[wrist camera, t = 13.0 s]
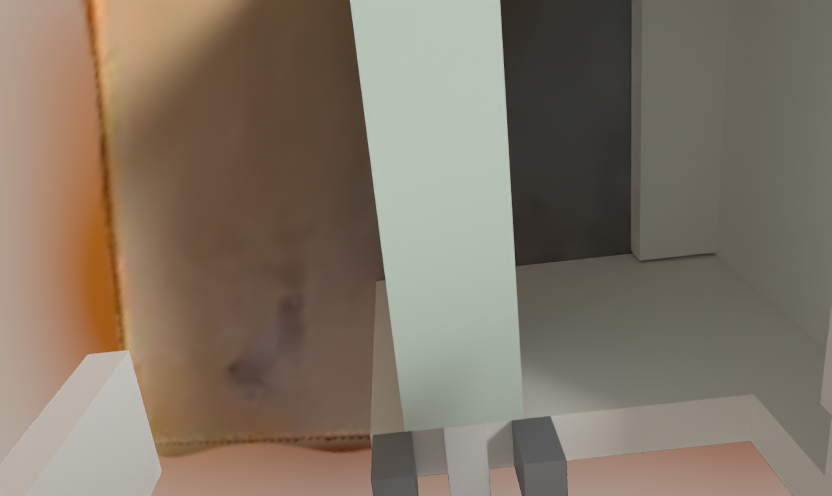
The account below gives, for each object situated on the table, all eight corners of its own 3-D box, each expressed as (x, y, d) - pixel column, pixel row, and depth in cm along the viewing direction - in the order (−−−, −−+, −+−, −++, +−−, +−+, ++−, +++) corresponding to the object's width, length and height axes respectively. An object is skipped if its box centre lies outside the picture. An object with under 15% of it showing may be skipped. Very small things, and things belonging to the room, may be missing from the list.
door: (451, -111, 29) (490, -166, 18) (485, 336, 36) (528, 496, 25) (353, -100, 29) (330, -148, 18) (406, 345, 36) (414, 508, 25)
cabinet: (753, -130, 33) (1246, -274, 14) (730, 276, 40) (1036, 545, 21) (328, -84, 33) (246, -165, 14) (380, 314, 40) (373, 616, 21)
